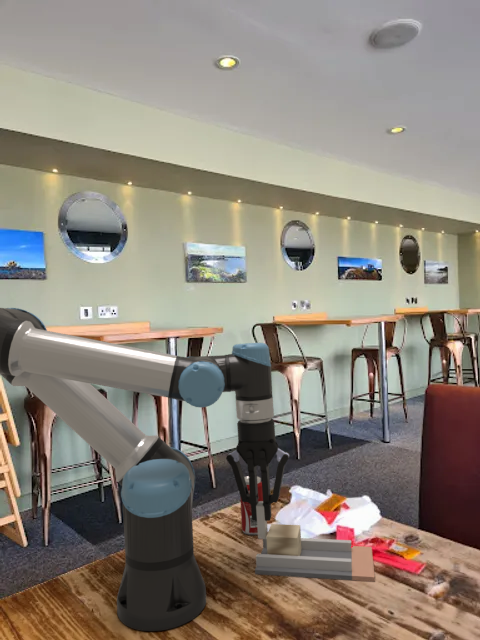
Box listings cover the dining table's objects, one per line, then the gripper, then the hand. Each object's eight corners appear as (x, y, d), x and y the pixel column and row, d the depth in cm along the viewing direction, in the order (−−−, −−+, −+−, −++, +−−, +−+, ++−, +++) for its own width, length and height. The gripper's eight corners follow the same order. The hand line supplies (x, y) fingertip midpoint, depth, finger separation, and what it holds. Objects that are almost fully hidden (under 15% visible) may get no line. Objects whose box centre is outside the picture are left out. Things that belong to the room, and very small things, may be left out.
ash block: (267, 562, 96) (266, 536, 96) (272, 548, 102) (271, 523, 102) (298, 564, 94) (297, 538, 94) (301, 549, 100) (300, 525, 100)
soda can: (243, 526, 116) (241, 475, 116) (265, 526, 115) (263, 475, 115) (240, 535, 110) (237, 482, 110) (263, 535, 110) (260, 482, 110)
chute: (255, 574, 93) (254, 560, 93) (265, 545, 105) (264, 533, 105) (374, 581, 88) (374, 567, 88) (371, 550, 100) (371, 538, 100)
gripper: (219, 423, 97) (227, 543, 97) (285, 422, 94) (293, 545, 94) (228, 416, 104) (235, 527, 104) (289, 414, 102) (296, 528, 101)
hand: (262, 535), depth 99 cm, fingers closed
